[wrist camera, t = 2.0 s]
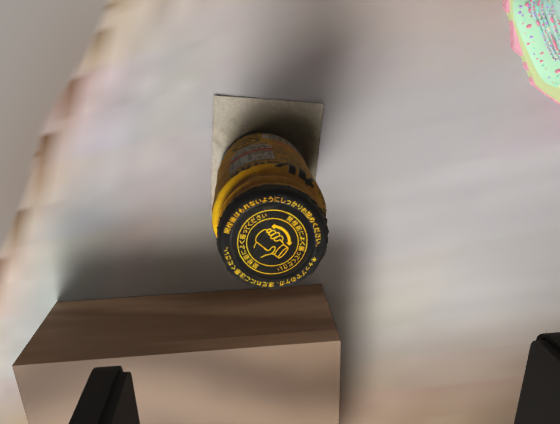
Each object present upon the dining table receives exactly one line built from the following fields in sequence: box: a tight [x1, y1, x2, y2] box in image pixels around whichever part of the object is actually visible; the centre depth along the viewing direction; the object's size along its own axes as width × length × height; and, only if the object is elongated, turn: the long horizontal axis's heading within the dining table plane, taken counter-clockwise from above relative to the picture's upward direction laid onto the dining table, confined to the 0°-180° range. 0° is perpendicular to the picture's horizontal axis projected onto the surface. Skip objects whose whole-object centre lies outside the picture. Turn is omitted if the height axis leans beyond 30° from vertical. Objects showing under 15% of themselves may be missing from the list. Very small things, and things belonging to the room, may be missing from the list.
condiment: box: [210, 96, 329, 289], centre depth 26 cm, size 7×8×12 cm
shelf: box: [12, 284, 341, 424], centre depth 34 cm, size 17×20×7 cm
